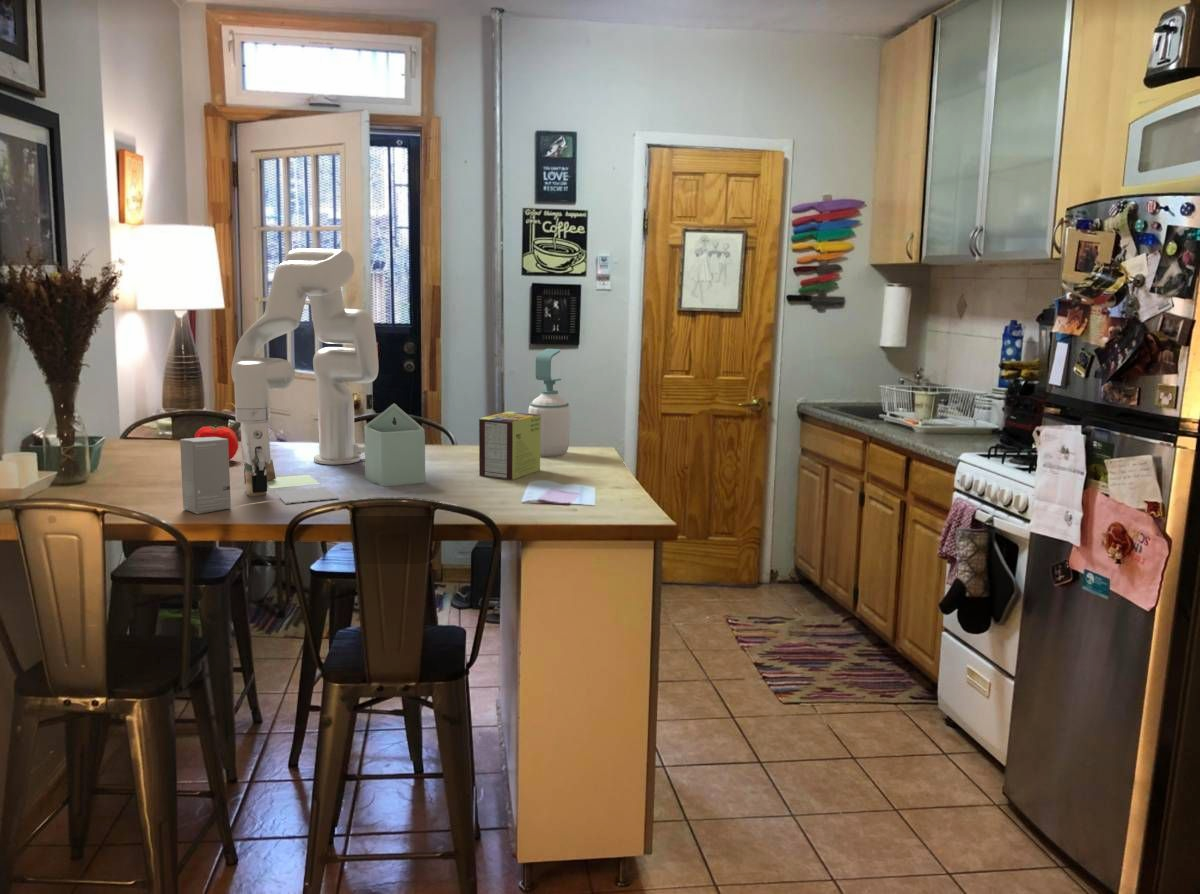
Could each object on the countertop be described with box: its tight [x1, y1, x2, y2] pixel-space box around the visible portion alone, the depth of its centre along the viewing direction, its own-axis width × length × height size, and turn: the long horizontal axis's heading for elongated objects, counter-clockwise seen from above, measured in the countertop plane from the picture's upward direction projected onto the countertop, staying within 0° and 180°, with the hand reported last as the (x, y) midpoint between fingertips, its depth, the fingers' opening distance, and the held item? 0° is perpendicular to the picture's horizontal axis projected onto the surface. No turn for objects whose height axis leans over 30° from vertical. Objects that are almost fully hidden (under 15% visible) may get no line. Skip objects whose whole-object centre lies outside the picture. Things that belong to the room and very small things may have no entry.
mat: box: [267, 474, 321, 489], centre depth 235 cm, size 12×12×1 cm
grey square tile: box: [274, 486, 339, 505], centre depth 221 cm, size 12×12×1 cm
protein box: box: [478, 411, 541, 481], centre depth 252 cm, size 10×15×16 cm
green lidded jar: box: [244, 465, 267, 497], centre depth 221 cm, size 5×5×7 cm
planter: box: [364, 403, 426, 487], centre depth 236 cm, size 16×8×20 cm, turn 78°
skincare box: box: [179, 437, 232, 515], centre depth 206 cm, size 8×7×16 cm
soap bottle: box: [527, 348, 571, 458], centre depth 278 cm, size 12×12×31 cm
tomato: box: [193, 424, 239, 461], centre depth 257 cm, size 12×12×10 cm
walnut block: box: [265, 459, 276, 481], centre depth 234 cm, size 5×5×5 cm
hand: (255, 487), depth 221 cm, fingers open, 8 cm apart
